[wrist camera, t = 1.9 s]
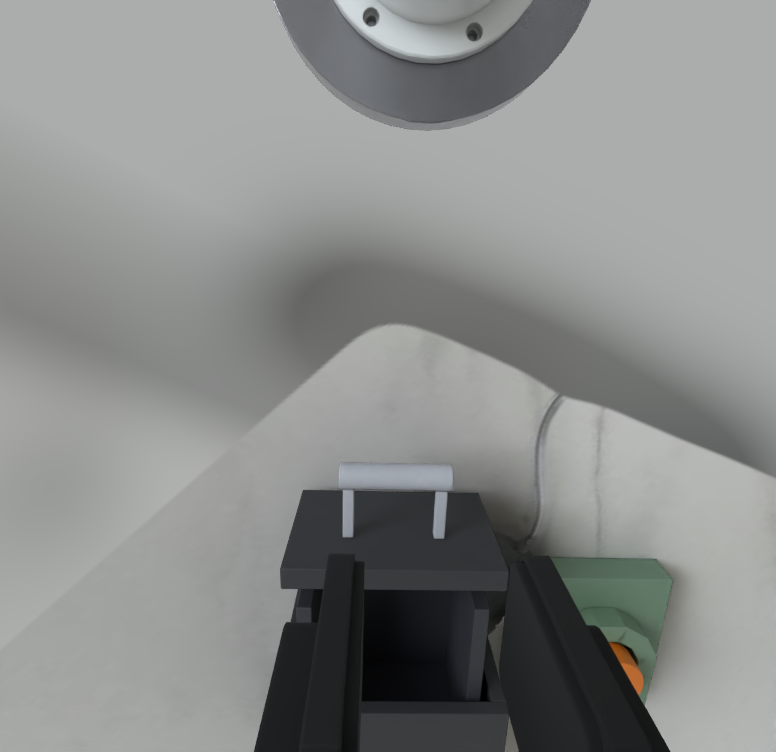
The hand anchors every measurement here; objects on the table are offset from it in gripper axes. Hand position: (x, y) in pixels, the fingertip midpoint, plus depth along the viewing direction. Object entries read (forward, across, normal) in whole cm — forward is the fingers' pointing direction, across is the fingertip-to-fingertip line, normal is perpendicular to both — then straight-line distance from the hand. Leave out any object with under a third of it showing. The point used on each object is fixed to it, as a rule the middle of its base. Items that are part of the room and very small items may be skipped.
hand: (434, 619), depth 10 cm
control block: (+21, -14, +19) cm, 32 cm away
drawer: (+20, 0, +13) cm, 24 cm away
